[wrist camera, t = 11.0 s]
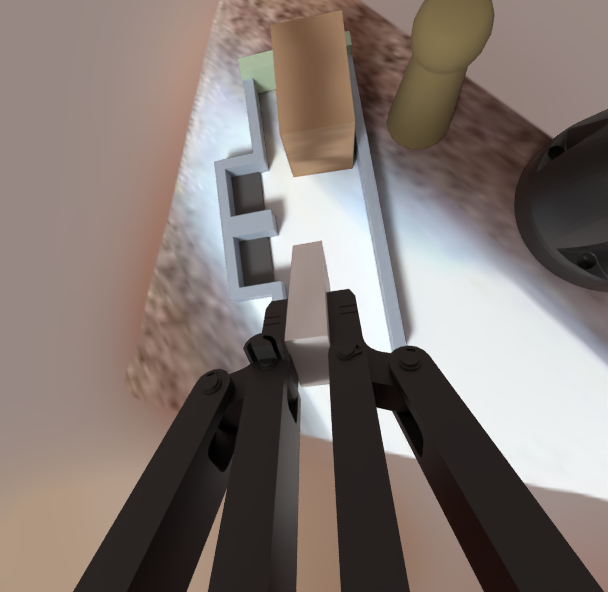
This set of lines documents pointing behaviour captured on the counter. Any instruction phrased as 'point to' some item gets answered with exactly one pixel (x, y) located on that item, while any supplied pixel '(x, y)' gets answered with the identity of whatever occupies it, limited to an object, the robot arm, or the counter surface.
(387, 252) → the trap lane
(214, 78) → the counter surface
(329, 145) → the walnut block
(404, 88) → the cork
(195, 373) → the counter surface
